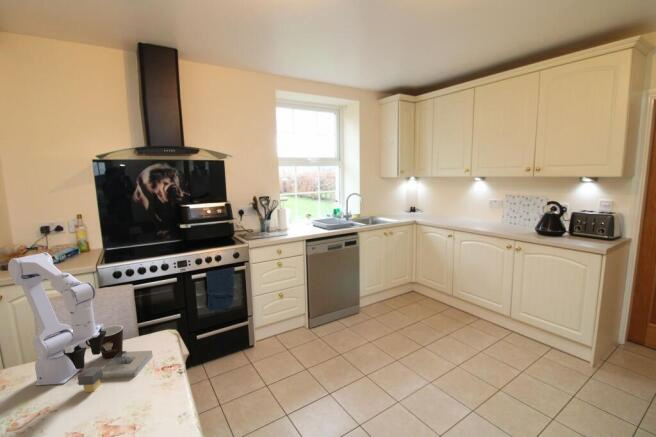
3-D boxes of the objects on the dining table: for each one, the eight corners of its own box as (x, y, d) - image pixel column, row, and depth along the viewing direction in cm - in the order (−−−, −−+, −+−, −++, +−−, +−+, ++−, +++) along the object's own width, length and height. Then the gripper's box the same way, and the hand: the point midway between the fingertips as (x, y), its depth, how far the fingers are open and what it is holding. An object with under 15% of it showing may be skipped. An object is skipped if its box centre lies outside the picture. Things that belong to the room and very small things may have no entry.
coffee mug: (130, 348, 124) (128, 325, 123) (114, 361, 116) (111, 336, 114) (104, 347, 125) (101, 324, 124) (86, 360, 117) (82, 335, 115)
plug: (80, 393, 99) (77, 376, 98) (90, 384, 103) (87, 367, 102) (94, 392, 99) (92, 375, 98) (103, 383, 103) (101, 367, 103)
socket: (99, 378, 106) (98, 370, 106) (120, 358, 118) (119, 350, 117) (135, 376, 107) (134, 368, 106) (152, 356, 119) (151, 349, 118)
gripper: (79, 332, 91) (85, 374, 93) (110, 310, 105) (115, 347, 107) (54, 333, 90) (61, 375, 92) (89, 311, 105) (94, 348, 107)
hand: (88, 360), depth 100 cm, fingers open, 7 cm apart
